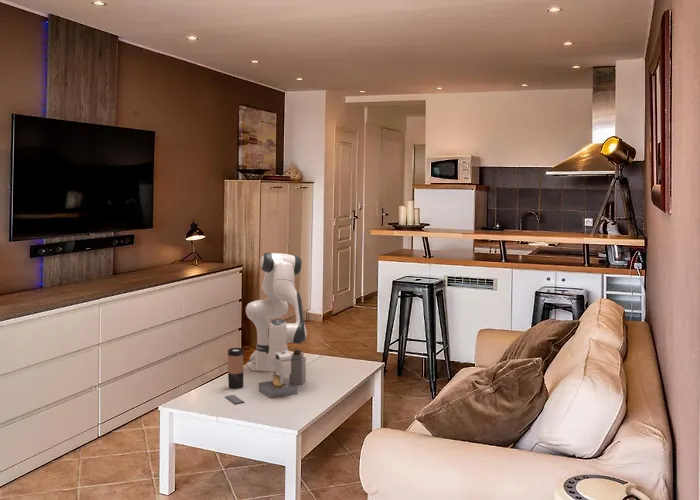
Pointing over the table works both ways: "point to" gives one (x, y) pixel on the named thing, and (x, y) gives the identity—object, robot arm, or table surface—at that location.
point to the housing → (277, 389)
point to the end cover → (276, 380)
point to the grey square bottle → (298, 368)
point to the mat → (234, 399)
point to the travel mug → (235, 368)
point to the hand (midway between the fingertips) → (278, 380)
